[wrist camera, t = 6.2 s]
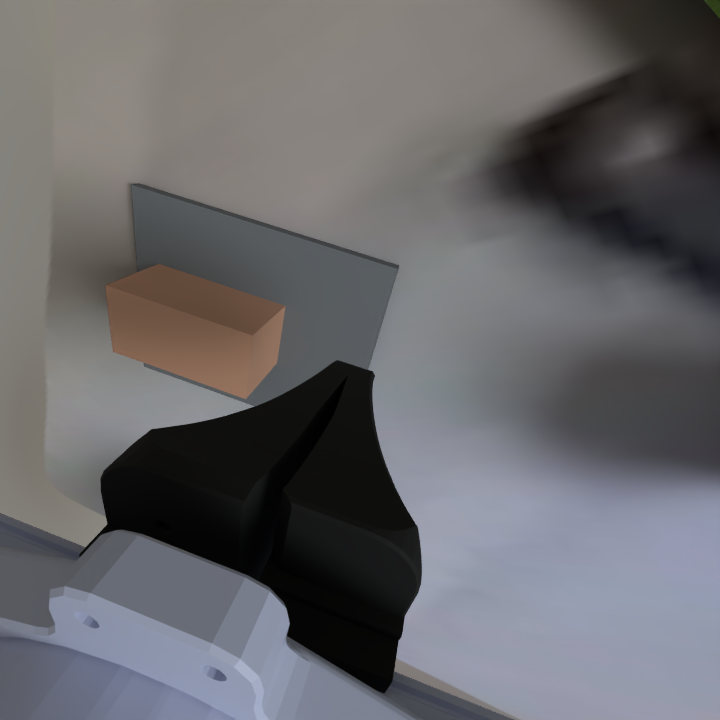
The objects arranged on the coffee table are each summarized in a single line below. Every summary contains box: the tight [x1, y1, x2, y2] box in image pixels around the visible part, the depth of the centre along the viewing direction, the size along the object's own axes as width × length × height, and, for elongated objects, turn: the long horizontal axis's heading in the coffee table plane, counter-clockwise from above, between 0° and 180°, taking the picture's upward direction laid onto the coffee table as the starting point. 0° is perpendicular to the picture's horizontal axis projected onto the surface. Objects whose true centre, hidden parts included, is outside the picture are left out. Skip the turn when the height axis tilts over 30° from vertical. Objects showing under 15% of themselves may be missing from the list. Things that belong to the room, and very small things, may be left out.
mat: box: [131, 184, 399, 406], centre depth 24 cm, size 12×15×1 cm
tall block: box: [105, 264, 285, 399], centre depth 22 cm, size 4×4×8 cm
